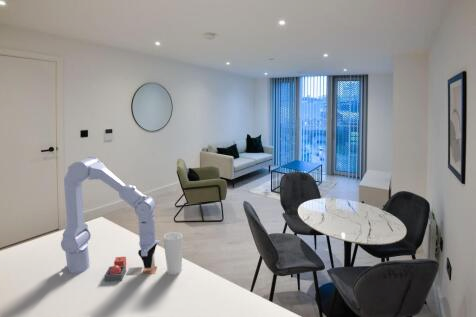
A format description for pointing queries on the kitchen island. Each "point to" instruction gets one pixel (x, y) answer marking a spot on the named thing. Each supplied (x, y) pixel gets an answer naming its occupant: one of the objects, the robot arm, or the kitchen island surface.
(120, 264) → the red block with knob
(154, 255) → the ivory pawn
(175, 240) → the drinking glass
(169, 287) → the kitchen island surface
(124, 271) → the pop dome base
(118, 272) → the pop dome
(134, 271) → the game board
